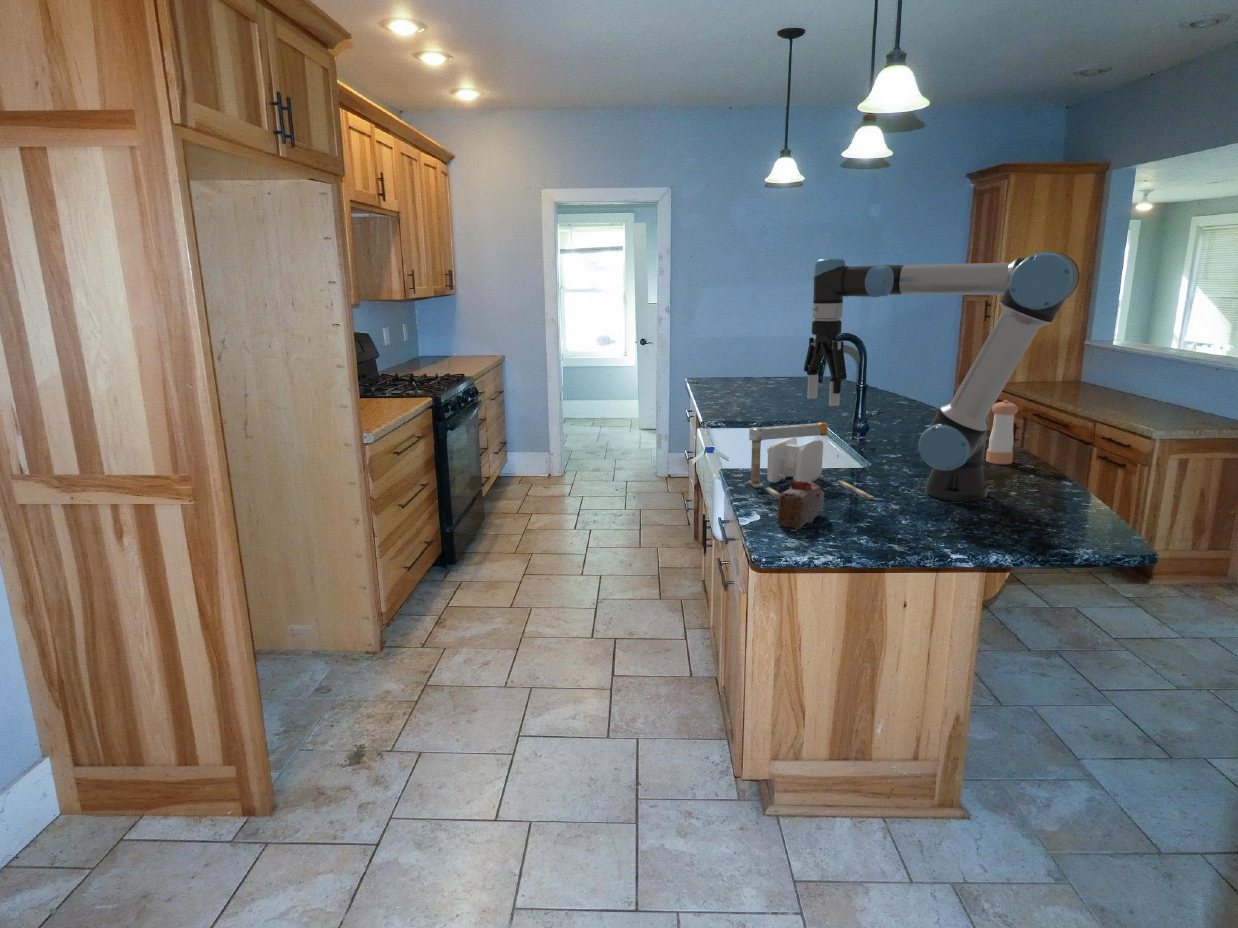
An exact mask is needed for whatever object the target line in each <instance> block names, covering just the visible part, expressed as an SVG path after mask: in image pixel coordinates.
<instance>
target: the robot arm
mask: <svg viewBox="0 0 1238 928" xmlns="http://www.w3.org/2000/svg"><path fill="white" fill-rule="evenodd" d="M814 265H815V266H814V272H813V273H814V275H813V296H812V297H813V301H812V302H813V304H812V307H811V311H812V318H813V320H812V322H811V334H812V335H813V336H815V337H809V338H808V339H809V340H808V348H807V353H806V357H805V362H804V367H803V371H804V372H806V374H807V375H808V376H807V392H806V393H807V394H806V395H807V399H808V400H810V399H818V393H819V373H820V372H819V368H820V366H821V363H822V362H823V359H826V362H827V366H828V369H829V374H830V377H831V378H830V379H829V394H828V406H829V407H835V406H837V407H838V406H840V405H841V404H840V403H841V402H840V401H841V392H842V391H841V390H842V387H841V386H842V381H843V380H846V379H848V376H847V375H848V374H847V369H846V361H845V353H844V352H845V351H844V346H845V345H844V343H845V342H844V341H843V340H840V341H838V340H837V337H838V336H839V335H841V333H842V323H843V322H842V320H841V319H842V318H843V304H844V303H843V302H844V297H862V298H863V297H865V298H867V297H868V298H869V297H872V298H879V297H888V296H890V295H894V296H895V295H923V296H924V295H926V296H927V295H928V296H929V295H931V296H932V295H936V296H937V295H939V296H940V295H941V296H942V295H944V296H945V295H949V296H951V295H953V296H955V295H957V296H959V295H960V296H961V295H964V296H967V295H969V296H1002V297H1001V298H1000V301H999V305H1000V309H1001V313H1000V315H999V317H998V319H997V320H996V322H995V324H994V326H992V328H991V331H990V333H989V334H988V336H987V339H985V342H984V343H983V345H982V346H981V349H980V350H979V352H978V354H977V356H976V357H975V359H974V361H973V363H972V364H971V366H970V368H969V370H968V372H967V373H966V375H965V377H964V379H963V380H962V382H961V384H960V385H959V386H958V387H959V388H958V389H957V391H956V393H955V395H954V397H953V398H952V400H951V401H950V402H949V403H948V404H943V405H941V406H940V408H939V410H938V411H937V412H936V414H935V416H934V417H933V419H932V421H931V423H930V425H929V427H928V428H926V429H925V430H924V431H922V434H921V435H920V438H919V440H918V445H917V446H918V453H919V455H920V457H921V459H922V460H923V461H924V462H925V464H927V465H928V466H929V467H931V468H932V469H931V470H930V474H929V476H928V479H927V480H926V482H925V489H924V491H925V494H927V495H929V496H932V497H934V498H936V499H941V500H945V501H951V502H964V503H969V502H979V501H983V500H985V499H987V498H988V493H989V492H988V490H989V489H988V485H987V480H986V476H985V472H984V459H985V451H986V441H987V434H988V426H989V423H990V422H989V413H990V411H991V410H992V407H993V405H994V404H996V401H997V400H998V398H999V397H1000V395H1001V393H1002V391H1003V390H1004V388H1005V387H1006V385H1007V383H1008V381H1009V379H1010V378H1011V377H1012V375H1013V373H1014V371H1015V370H1016V368H1017V366H1018V365H1019V363H1020V361H1021V360H1022V358H1023V356H1024V355H1025V353H1026V351H1027V350H1028V348H1029V346H1030V345H1031V343H1032V341H1033V340H1034V338H1035V336H1036V335H1037V333H1038V331H1039V330H1040V328H1042V327H1044V326H1047V325H1049V324H1052V323H1053V320H1055V317H1056V316H1057V314H1058V312H1059V311H1060V309H1061V307H1062V306H1063V304H1064V302H1065V301H1066V300H1067V299H1068V298H1070V297H1071V295H1072V294H1074V292H1075V291H1076V289H1077V288H1078V286H1079V283H1080V278H1081V275H1080V274H1081V273H1080V269H1079V266H1078V264H1077V263H1076V261H1075V260H1074V259H1073V258H1071V257H1070V256H1069V255H1066V254H1063V253H1062V252H1061V253H1060V252H1052V251H1043V252H1037V253H1034V254H1031V255H1029V256H1027V257H1018V258H1016V259H1014V260H1013V261H1011V262H990V263H989V262H988V263H987V262H985V263H983V262H982V263H981V262H979V263H978V262H977V263H975V262H974V263H937V264H935V263H934V264H933V263H932V264H929V263H928V264H904V265H902V264H883V265H859V266H858V265H857V266H849V265H846V261H845V259H844V258H820V259H817V260H816V262H815V263H814Z"/></svg>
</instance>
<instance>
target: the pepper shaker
mask: <svg viewBox="0 0 1238 928" xmlns="http://www.w3.org/2000/svg"><path fill="white" fill-rule="evenodd" d="M991 410H992V413H994V415H993V423H992V427H991V428H992V429H991V432H990V435H989V440H988V447H987V449H986V454H985V455H986V457H985V461H986V462H988V463H991V464H993V465H994V464H995V465H1011V464H1013V456H1014V450H1013V447H1014V440H1015V439H1014V422H1015V415H1016V414H1017V413H1018V411H1019V408H1018V406H1017V405H1016V404H1015V403H1013V402H1010V401H1009V400H1008V399H1004V400H1002V401H999V402H995V403H994V405H993V406H992V408H991Z"/></svg>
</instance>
